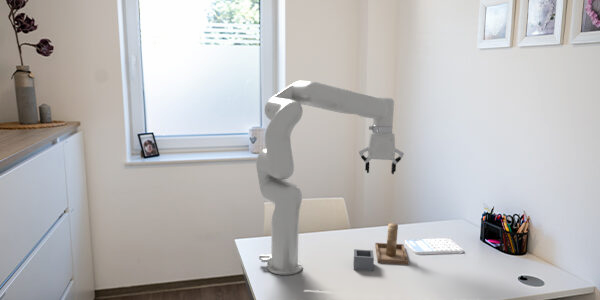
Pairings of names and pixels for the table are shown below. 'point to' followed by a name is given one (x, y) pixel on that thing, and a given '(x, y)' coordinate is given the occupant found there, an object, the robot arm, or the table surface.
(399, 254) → the tray
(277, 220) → the robot arm
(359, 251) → the pen cup
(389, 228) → the dowel
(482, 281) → the table surface
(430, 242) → the calculator
